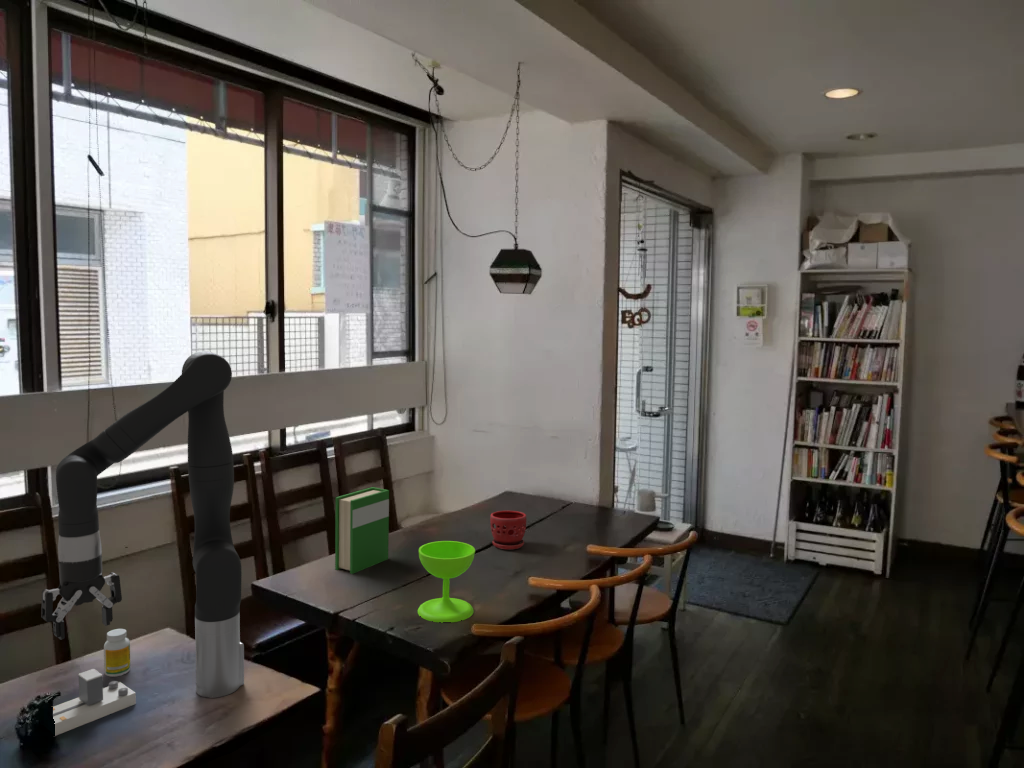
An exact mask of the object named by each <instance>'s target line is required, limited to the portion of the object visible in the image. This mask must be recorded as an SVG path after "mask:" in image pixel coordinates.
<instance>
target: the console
mask: <svg viewBox="0 0 1024 768" xmlns="http://www.w3.org/2000/svg"><path fill="white" fill-rule="evenodd" d="M136 696H137V694H136V692H135V691H134V690H132V689H131V688H129V687H128V686H126V685H125V684H124V683H122V682H121V681H118V680H111V681H109V683H108V686H106V687H103V700H102V701H99V702H97V703H94V704H92V705H89V706H87V705H86V704H85V703H83V702H82V701H81V700H80V699H79V696H78V697H76V698H73V699H71V700H67V701H65V702H62V703H60V704H57V705H54V706H52V707H53V719H54V721H55V723H54V724H55V736H54V737H57V736H58V735H61V734H63V733H66V732H68V731H71V730H74V729H76V728H79V727H81V726H84V725H86V724H89V723H91V722H94V721H96V720H98V719H101V718H103V717H106V716H109V715H110V714H114V713H117V712H119V711H121V710H124V709H126V708H130V707H131V706H134V705H136V704H137V701H136V700H137V697H136Z"/></svg>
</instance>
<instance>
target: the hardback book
mask: <svg viewBox="0 0 1024 768" xmlns="http://www.w3.org/2000/svg"><path fill="white" fill-rule="evenodd" d="M334 512H335V515H334V517H335V518H334V519H335V520H334V521H335V523H334V525H335V526H334V527H335V529H334V530H335V531H334V532H335V537H334V538H335V539H334V542H335V543H334V544H335V545H334V546H335V548H334V549H335V550H334V551H335V553H334V554H335V555H334V557H335V558H334V565H335V566H334V570H337V571H338V570H342V569H343V570H346V571H349V574H350V575H354V574H355V573H358V572H360V571H363V570H365V569H368V568H371V567H372V566H375V565H377V564H380V563H382V562H384V561H388V560H389V534H390V531H389V529H390V528H389V527H390V525H389V524H390V523H389V522H390V520H389V519H390V518H389V517H390V513H389V512H390V489H386V488H385V489H384V488H380V487H375V486H374V487H373V486H371V487H368V488H363V489H360V490H357V491H353V492H350V493H347V494H343V495H340V496H336V497H335V510H334Z"/></svg>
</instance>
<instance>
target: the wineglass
mask: <svg viewBox="0 0 1024 768" xmlns="http://www.w3.org/2000/svg"><path fill="white" fill-rule="evenodd" d="M475 554H476V549H475V547H474V546H473V545H471V544H469V543H466V542H462V541H456V540H454V541H453V540H440V541H438V540H437V541H432V542H428V543H425V544H423V545H421V546H419V548H418V558H419V561H420V563H421V565H422V566H423V568H424V569H425V571H427V572H428V573H429V574H430V575H432V576H434V577H435V578H438V579H442V597H439V598H437V597H436V598H432V599H429V600H426V601H424V602H423V603H421V604H420V605H419V607H418V609H417V614H418V616H419V617H420V616H421V617H420V618H422V619H424V620H426V621H427V622H428V621H429V622H432V621H433V623H439V622H441V623H440V624H444V623H443V622H451V623H457V622H462V621H465V620H467V619H469V618H471V616H473V614H474V612H475V611H474V607H473V606H472V605H471V604H470V602H467V601H466V600H463V599H460V598H455V597H450V586H451V585H450V581H451V580H450V579H455V578H457V577H459V576H461V575H462V574H464V573H465V572H466V571H467V570H468V569H469V568H470V567H471V565H472V563H473V561H474V558H475ZM461 620H462V621H461Z"/></svg>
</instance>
